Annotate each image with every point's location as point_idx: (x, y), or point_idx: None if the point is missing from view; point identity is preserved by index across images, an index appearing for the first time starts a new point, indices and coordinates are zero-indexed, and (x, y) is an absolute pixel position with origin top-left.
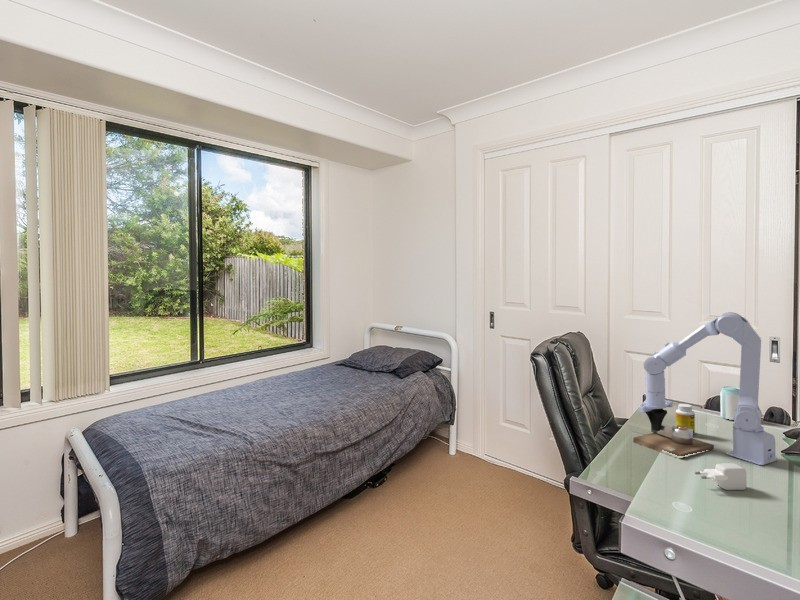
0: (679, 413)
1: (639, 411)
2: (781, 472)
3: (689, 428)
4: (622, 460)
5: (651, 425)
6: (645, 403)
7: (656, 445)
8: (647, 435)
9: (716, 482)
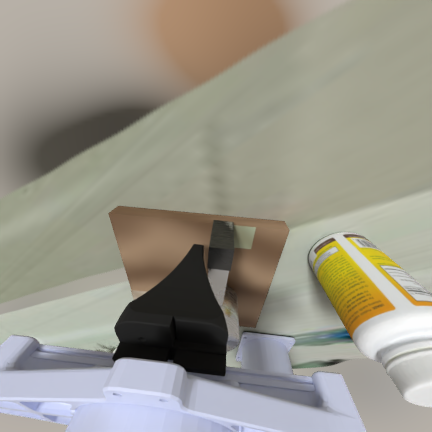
0: (361, 329)
1: (11, 344)
2: (234, 366)
3: (229, 346)
4: (14, 255)
5: (187, 253)
6: (72, 404)
7: (129, 276)
8: (172, 227)
9: (113, 351)
